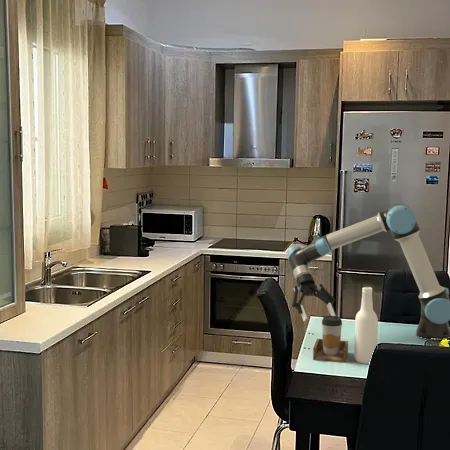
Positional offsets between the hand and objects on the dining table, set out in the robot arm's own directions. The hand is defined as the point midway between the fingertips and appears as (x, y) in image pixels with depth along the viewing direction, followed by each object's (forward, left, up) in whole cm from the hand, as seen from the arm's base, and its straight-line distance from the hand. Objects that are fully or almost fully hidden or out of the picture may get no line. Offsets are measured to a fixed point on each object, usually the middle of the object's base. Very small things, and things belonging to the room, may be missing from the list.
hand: (319, 318), depth 253 cm
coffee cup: (-6, +8, -13) cm, 16 cm away
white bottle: (-20, +10, -14) cm, 26 cm away
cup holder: (-6, +8, -13) cm, 17 cm away
